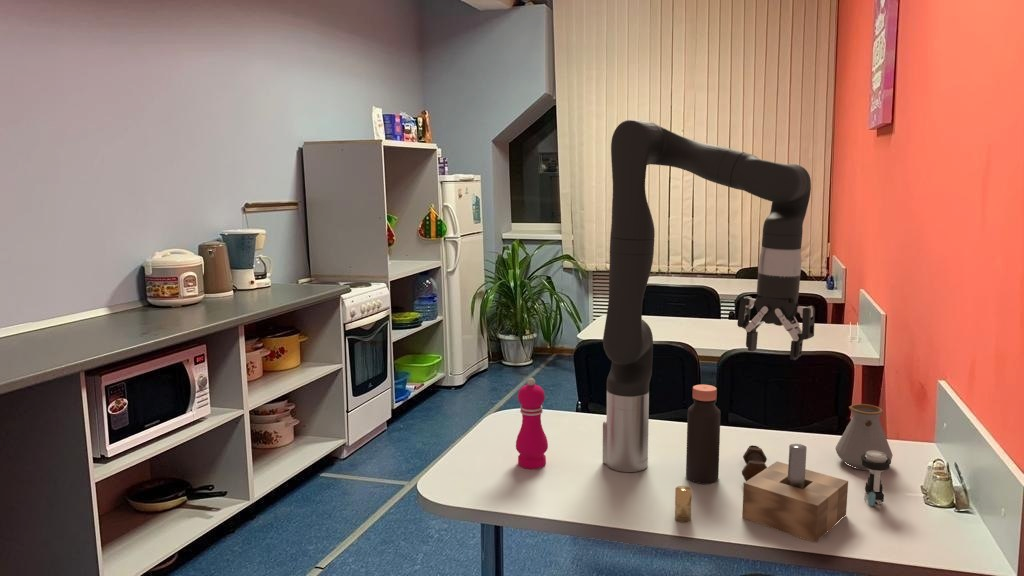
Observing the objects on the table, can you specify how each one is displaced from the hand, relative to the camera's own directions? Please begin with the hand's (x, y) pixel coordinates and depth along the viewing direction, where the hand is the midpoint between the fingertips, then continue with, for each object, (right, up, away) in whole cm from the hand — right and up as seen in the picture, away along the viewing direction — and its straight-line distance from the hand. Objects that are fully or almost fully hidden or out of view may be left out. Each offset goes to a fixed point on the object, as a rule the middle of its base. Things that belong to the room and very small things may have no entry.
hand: (772, 354), depth 144 cm
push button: (+21, -30, +4) cm, 37 cm away
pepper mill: (-46, -27, +25) cm, 59 cm away
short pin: (-18, -31, -2) cm, 36 cm away
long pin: (+4, -31, -2) cm, 31 cm away
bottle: (-9, -28, +16) cm, 34 cm away
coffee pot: (+26, -27, +18) cm, 42 cm away
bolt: (+3, -28, +19) cm, 34 cm away
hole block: (+4, -31, -2) cm, 31 cm away
